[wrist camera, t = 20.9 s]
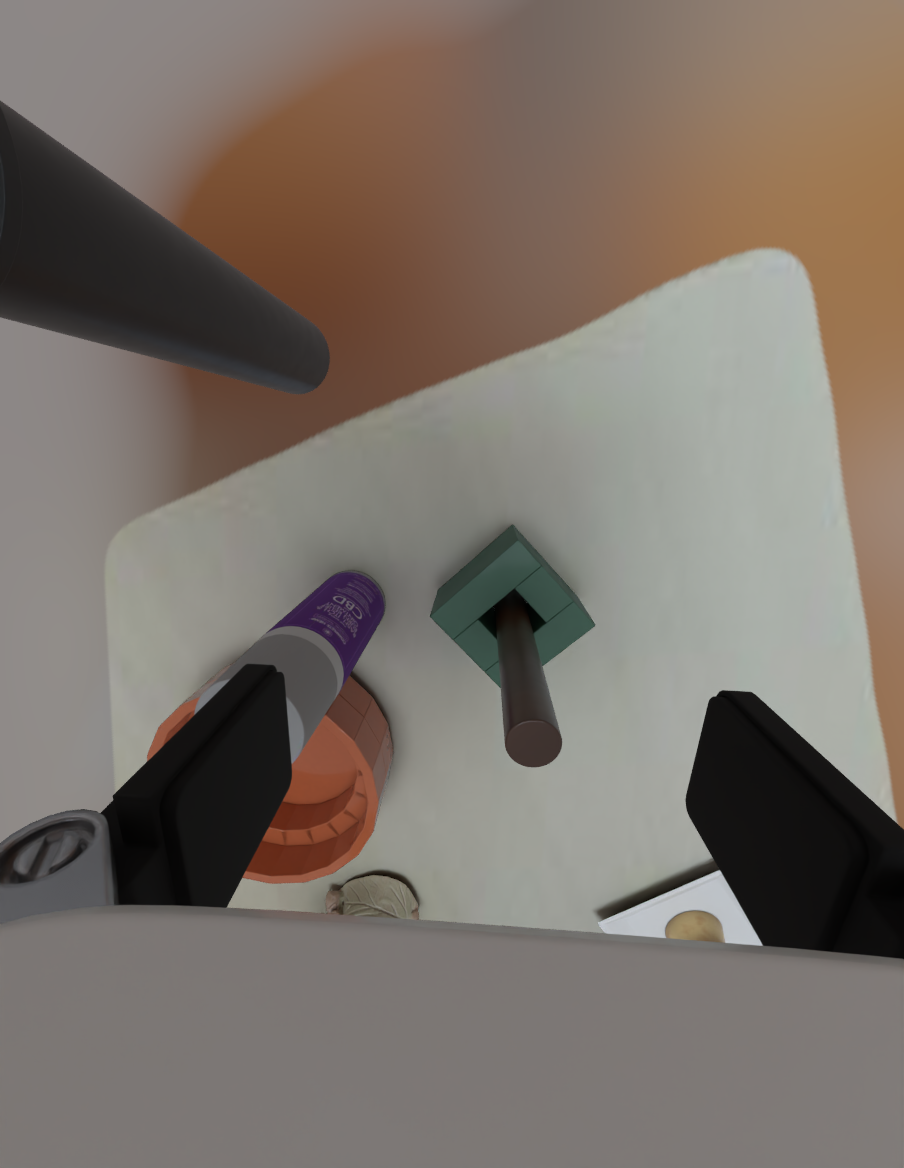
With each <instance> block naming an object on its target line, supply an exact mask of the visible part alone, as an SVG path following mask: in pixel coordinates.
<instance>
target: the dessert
mask: <svg viewBox="0 0 904 1168" xmlns="http://www.w3.org/2000/svg"><path fill="white" fill-rule="evenodd" d="M598 925H599V926H600V928H601V929H602V930H603V931H604V932H605V933H606V934H620V935H633V936H646V937H658V938H671V939H683V940H696V941H708V942H721V943H733V944H746V945H758V946H763V945H762V943H761V941H760V940H759V938H758V936H757V934H756V933H755V931H754V929H753V927H752V926H751V924H750V922H749V920H748V919H747V917H746V915H745V913H744V912H743V910H742V908H741V906H740V904H739V903H738V901H737V899H736V897H735V896H734V894H733V892H732V890H731V889H730V887H729V885H728V883H727V882H726V880H725V878H724V876H723V875H722V873H721V871H720V870H718V871H716V872H713V873H711V874H709V875H706V876H704V877H702V878H699V879H697V880H695V881H692V882H690V883H688V884H685V885H683V886H681V887H678V888H676V889H674V890H671V891H669V892H667V893H664V894H662V895H660V896H657V897H655V898H653V899H651V900H648V901H646V902H644V903H641V904H639V905H637V906H634V907H632V908H630V909H627V910H625V911H623V912H620V913H618V914H616V915H613V916H611V917H609V918H606V919H604V920H602V921H599V922H598Z"/></svg>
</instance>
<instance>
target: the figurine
mask: <svg viewBox="0 0 904 1168" xmlns="http://www.w3.org/2000/svg"><path fill="white" fill-rule="evenodd" d="M326 906H327V912H328V914H339V915H354V916H369V917H384V918H399V919H414V920H419V913H418V904H417V901H416V900H415V898H414V897H413V894H412V893H411V891H410V890H409V888H407V886H406V885H405V884H404V883H402V882H400V881H398V880H396V879H393V878H390V877H387V876H386V877H384V876H382V875H381V876H379V875H370V876H366V877H364V878H363V877H362V878H359V879H354V880H351V881H350V882H347V883H346V884H345V885H344V886H343V888H341V889H340V890H339V891H328V893H327V895H326Z"/></svg>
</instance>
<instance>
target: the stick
mask: <svg viewBox="0 0 904 1168" xmlns="http://www.w3.org/2000/svg"><path fill="white" fill-rule="evenodd" d="M495 618H496V631H497V644H498V658H499V671H500V684H501V697H502V711H503V724H504V737H505V747H506V751H507V753H508V754H509V756H510V757H511V758H512V759H513V760H514V761H515V762H517V763H518V764H520V765H523V766H527V767H540V766H544V765H547V764H549V763H550V762H552V761H553V760H554V759H555V758H556V757H557V756H558V754H559V753H560V750H561V747H562V738H561V734H560V730H559V727H558V723H557V719H556V716H555V712H554V708H553V704H552V701H551V697H550V693H549V690H548V686H547V682H546V678H545V675H544V671H543V667H542V664H541V660H540V656H539V652H538V649H537V645H536V641H535V637H534V634H533V630H532V626H531V623H530V619H529V615H528V611H527V608H526V604H525V600H524V598H523V597H522V596H521V595H520V594H519V593H518V592H517V590H516V589H515V588H514V589H513V590H512V591H511V592H509V593H508V594H507V595H506V596H505V597H503V598H502V599H501V600H500V601H499V602H497V603H496V604H495Z"/></svg>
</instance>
